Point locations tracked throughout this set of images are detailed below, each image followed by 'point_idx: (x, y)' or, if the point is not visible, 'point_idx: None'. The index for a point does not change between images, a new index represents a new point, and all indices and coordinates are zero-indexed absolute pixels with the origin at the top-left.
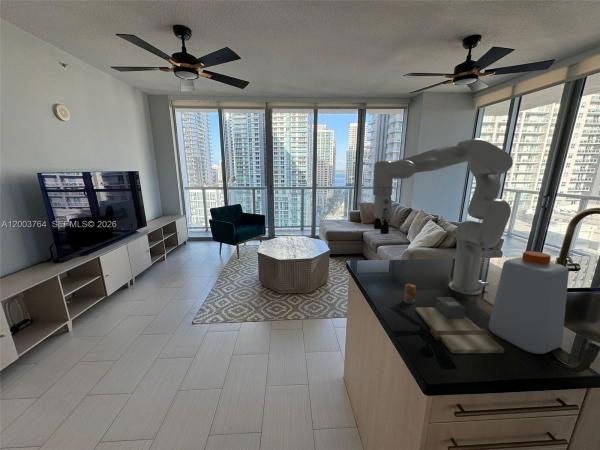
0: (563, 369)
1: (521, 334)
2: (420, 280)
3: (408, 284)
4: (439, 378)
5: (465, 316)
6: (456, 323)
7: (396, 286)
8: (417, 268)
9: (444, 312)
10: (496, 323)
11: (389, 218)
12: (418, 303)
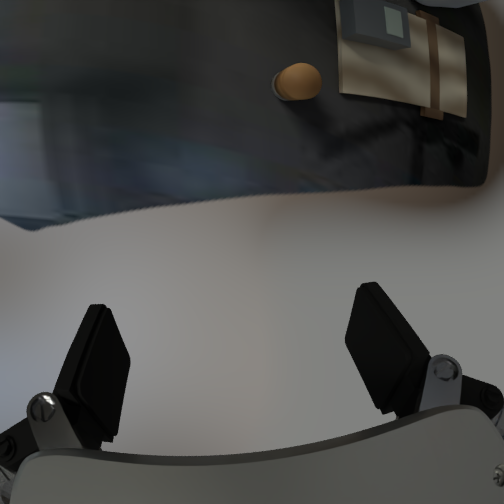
0: None
1: (467, 4)
2: (114, 2)
3: (290, 82)
4: (485, 169)
5: None
6: None
7: (166, 91)
8: (19, 10)
9: (386, 46)
10: (441, 1)
11: (418, 421)
12: None
